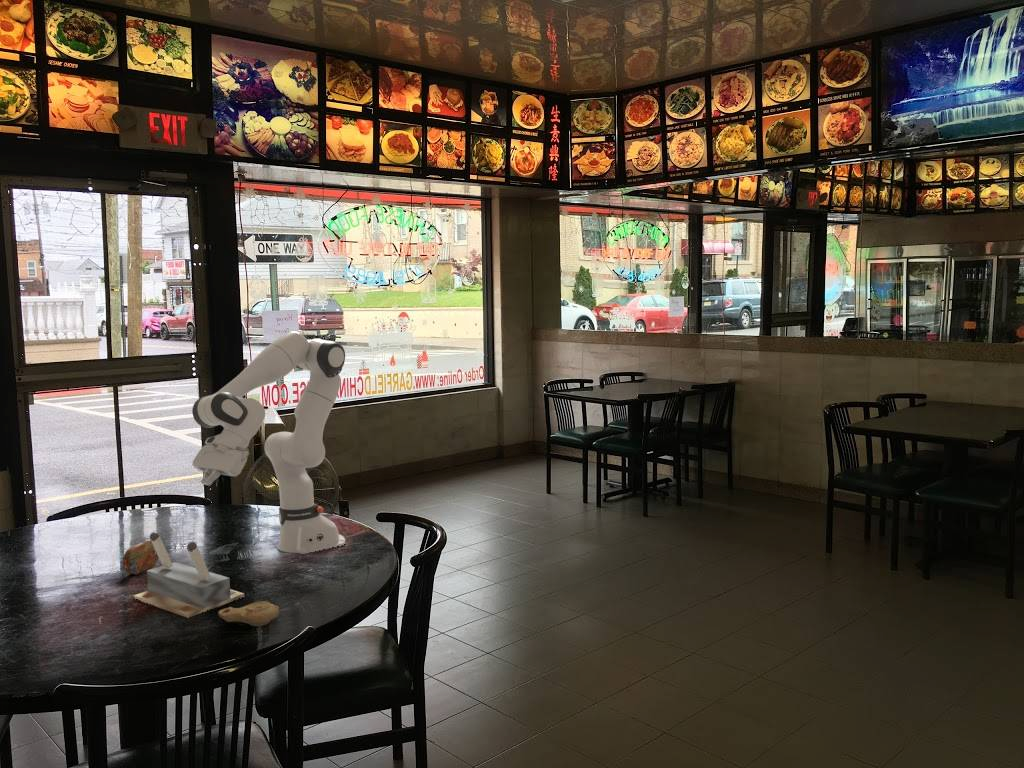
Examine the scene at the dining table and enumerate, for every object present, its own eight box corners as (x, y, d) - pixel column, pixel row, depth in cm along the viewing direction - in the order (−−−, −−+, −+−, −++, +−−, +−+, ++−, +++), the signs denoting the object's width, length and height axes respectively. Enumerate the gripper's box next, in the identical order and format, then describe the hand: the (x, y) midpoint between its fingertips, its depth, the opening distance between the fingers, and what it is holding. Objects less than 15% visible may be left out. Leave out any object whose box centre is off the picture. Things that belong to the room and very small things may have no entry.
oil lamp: (217, 623, 218) (216, 605, 218) (271, 611, 226) (270, 593, 225) (227, 637, 209) (226, 618, 209) (283, 624, 217) (282, 605, 216)
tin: (131, 578, 255) (129, 551, 254) (122, 577, 255) (120, 551, 254) (161, 562, 269) (159, 537, 268) (152, 561, 270) (150, 536, 269)
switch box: (190, 579, 252) (188, 557, 251) (244, 596, 237) (242, 573, 236) (133, 598, 237) (132, 575, 236) (187, 617, 222) (186, 592, 221)
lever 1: (168, 562, 243) (153, 529, 238) (174, 564, 241) (159, 530, 237) (161, 567, 241) (146, 534, 236) (167, 569, 239) (151, 536, 235)
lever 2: (206, 573, 232) (190, 539, 228) (212, 575, 231) (197, 541, 226) (198, 579, 231) (183, 544, 226) (205, 581, 229) (189, 546, 224)
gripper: (258, 454, 252) (233, 493, 245) (217, 449, 264) (192, 486, 257) (244, 442, 248) (218, 482, 241) (203, 437, 260) (178, 474, 253)
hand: (204, 484), depth 249 cm, fingers closed
